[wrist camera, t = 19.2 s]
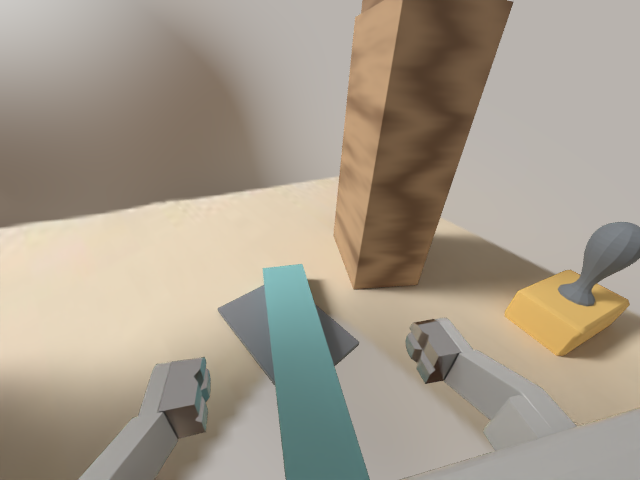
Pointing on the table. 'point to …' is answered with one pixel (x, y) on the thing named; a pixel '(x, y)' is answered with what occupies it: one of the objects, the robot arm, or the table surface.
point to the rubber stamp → (578, 293)
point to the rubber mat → (253, 332)
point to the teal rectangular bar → (307, 385)
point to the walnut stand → (408, 127)
